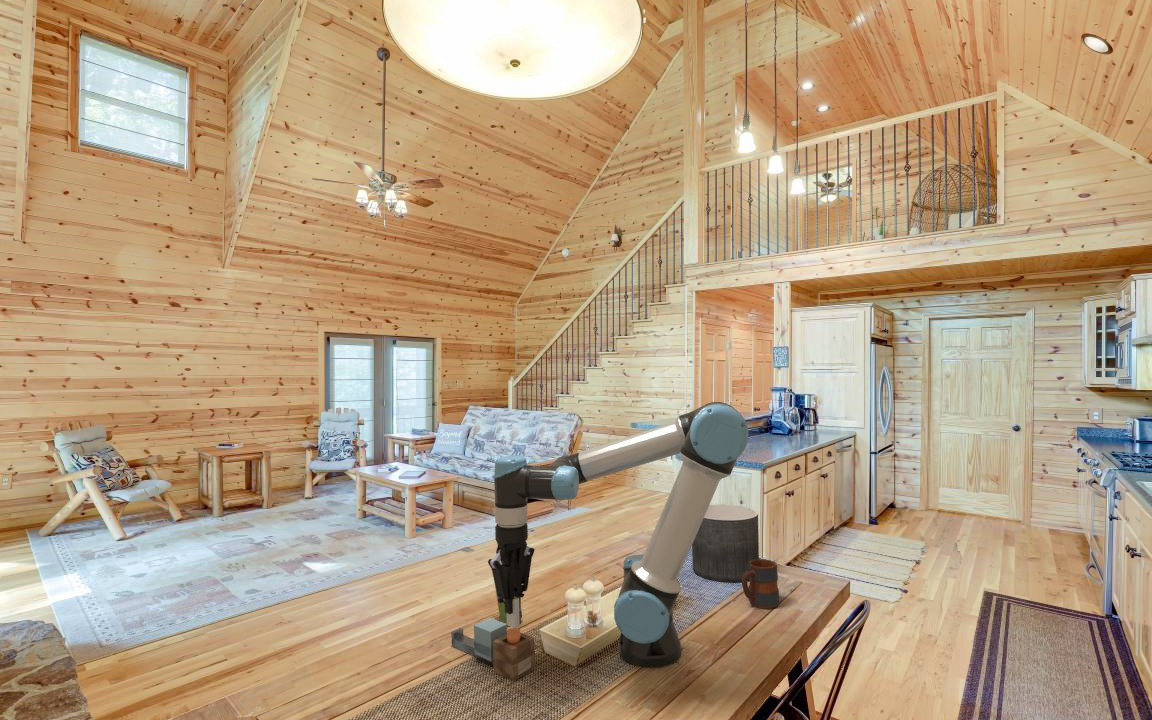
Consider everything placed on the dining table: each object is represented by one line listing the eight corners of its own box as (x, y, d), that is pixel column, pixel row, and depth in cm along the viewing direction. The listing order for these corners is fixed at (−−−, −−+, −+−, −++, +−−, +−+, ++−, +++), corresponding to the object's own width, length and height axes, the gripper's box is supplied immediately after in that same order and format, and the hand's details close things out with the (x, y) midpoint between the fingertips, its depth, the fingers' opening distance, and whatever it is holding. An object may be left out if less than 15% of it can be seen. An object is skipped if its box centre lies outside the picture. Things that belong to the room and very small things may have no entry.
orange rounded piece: (523, 645, 133) (522, 630, 133) (513, 650, 131) (513, 635, 131) (514, 641, 135) (513, 626, 135) (504, 646, 133) (504, 631, 133)
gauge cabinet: (535, 668, 133) (535, 638, 133) (513, 681, 128) (513, 649, 128) (515, 659, 138) (514, 630, 138) (493, 671, 132) (493, 641, 132)
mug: (733, 603, 168) (732, 563, 168) (764, 595, 173) (763, 556, 173) (753, 614, 160) (752, 572, 160) (786, 606, 165) (785, 565, 165)
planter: (757, 562, 203) (755, 505, 203) (762, 585, 181) (760, 521, 182) (693, 558, 208) (691, 503, 208) (691, 581, 186) (689, 518, 187)
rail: (509, 663, 136) (509, 648, 136) (500, 668, 134) (499, 653, 134) (461, 641, 148) (460, 627, 148) (451, 645, 145) (451, 631, 145)
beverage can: (518, 627, 155) (517, 583, 155) (492, 626, 156) (491, 581, 156) (525, 617, 161) (524, 574, 161) (500, 616, 162) (499, 573, 163)
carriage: (507, 652, 138) (506, 624, 138) (491, 661, 134) (490, 632, 134) (490, 645, 142) (490, 617, 142) (474, 653, 138) (473, 625, 138)
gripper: (520, 515, 141) (521, 612, 140) (479, 527, 131) (480, 631, 130) (542, 519, 136) (544, 620, 136) (501, 532, 126) (503, 640, 126)
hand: (513, 625), depth 133 cm, fingers closed
